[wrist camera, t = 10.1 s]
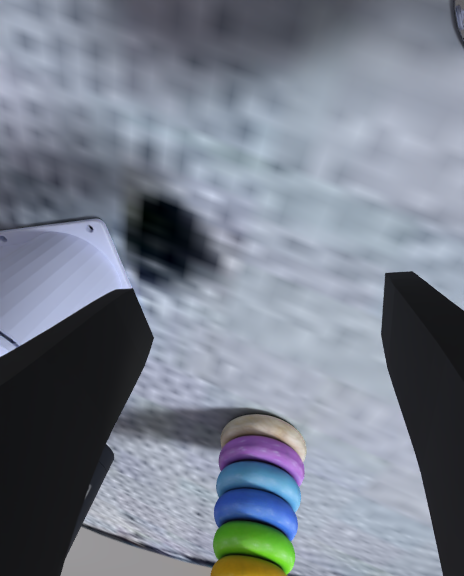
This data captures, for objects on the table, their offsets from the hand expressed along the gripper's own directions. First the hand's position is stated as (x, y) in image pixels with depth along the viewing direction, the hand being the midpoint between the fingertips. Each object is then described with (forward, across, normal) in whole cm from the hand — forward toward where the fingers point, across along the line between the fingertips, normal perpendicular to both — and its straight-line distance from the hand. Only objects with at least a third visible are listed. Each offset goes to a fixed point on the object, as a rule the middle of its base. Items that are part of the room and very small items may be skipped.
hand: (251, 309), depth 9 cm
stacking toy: (+11, +4, +23) cm, 26 cm away
